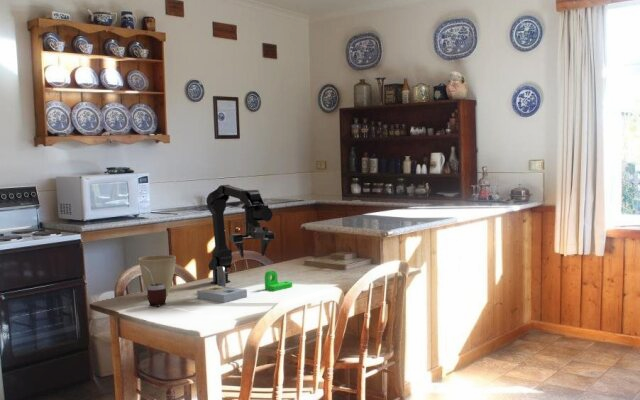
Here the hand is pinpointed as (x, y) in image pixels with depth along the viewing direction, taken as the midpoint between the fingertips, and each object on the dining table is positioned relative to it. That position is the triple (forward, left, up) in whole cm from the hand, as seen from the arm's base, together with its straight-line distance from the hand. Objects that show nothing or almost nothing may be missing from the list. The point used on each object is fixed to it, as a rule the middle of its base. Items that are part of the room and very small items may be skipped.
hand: (252, 256), depth 276 cm
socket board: (0, -18, -14) cm, 23 cm away
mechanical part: (+7, +9, -14) cm, 18 cm away
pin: (-11, -8, -14) cm, 20 cm away
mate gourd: (-12, -41, -14) cm, 45 cm away
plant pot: (-26, -29, -14) cm, 42 cm away
